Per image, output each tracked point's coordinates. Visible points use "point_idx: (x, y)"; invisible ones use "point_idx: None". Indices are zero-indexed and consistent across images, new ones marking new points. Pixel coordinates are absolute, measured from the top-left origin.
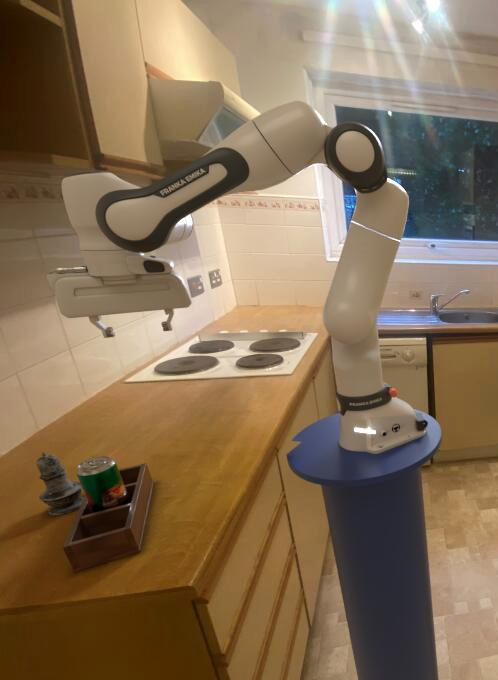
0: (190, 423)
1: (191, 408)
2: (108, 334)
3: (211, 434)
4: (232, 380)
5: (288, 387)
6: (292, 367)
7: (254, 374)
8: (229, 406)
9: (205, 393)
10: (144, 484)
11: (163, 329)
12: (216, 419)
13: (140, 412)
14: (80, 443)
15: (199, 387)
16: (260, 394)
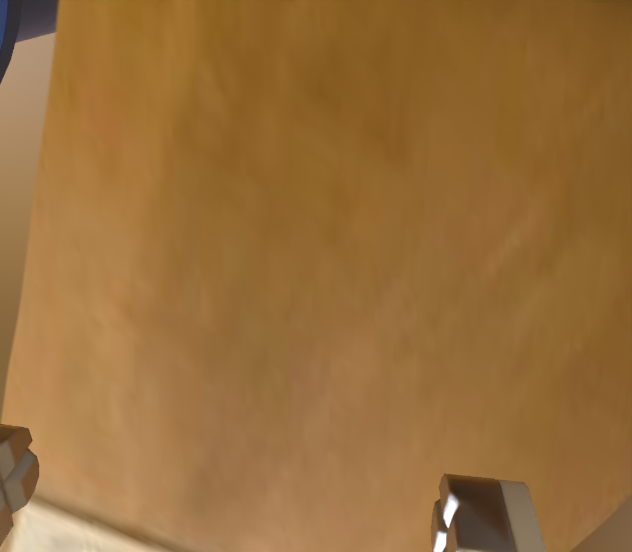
0: (294, 329)
1: (290, 426)
2: (485, 500)
3: (236, 211)
4: (184, 539)
5: (21, 415)
6: (23, 537)
7: (127, 546)
8: (188, 381)
9: (253, 498)
10: None
11: (7, 434)
12: (223, 313)
13: (413, 473)
14: (565, 371)
15: (268, 541)
16: (102, 412)
